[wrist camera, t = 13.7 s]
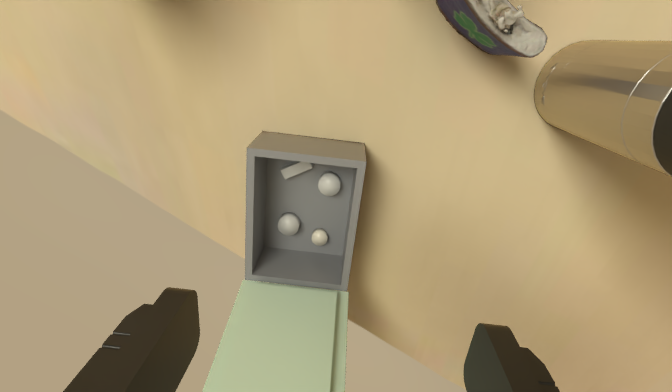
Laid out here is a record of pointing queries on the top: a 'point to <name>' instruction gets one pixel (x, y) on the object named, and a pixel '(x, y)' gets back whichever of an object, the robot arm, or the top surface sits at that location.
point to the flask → (494, 26)
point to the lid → (282, 341)
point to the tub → (302, 209)
